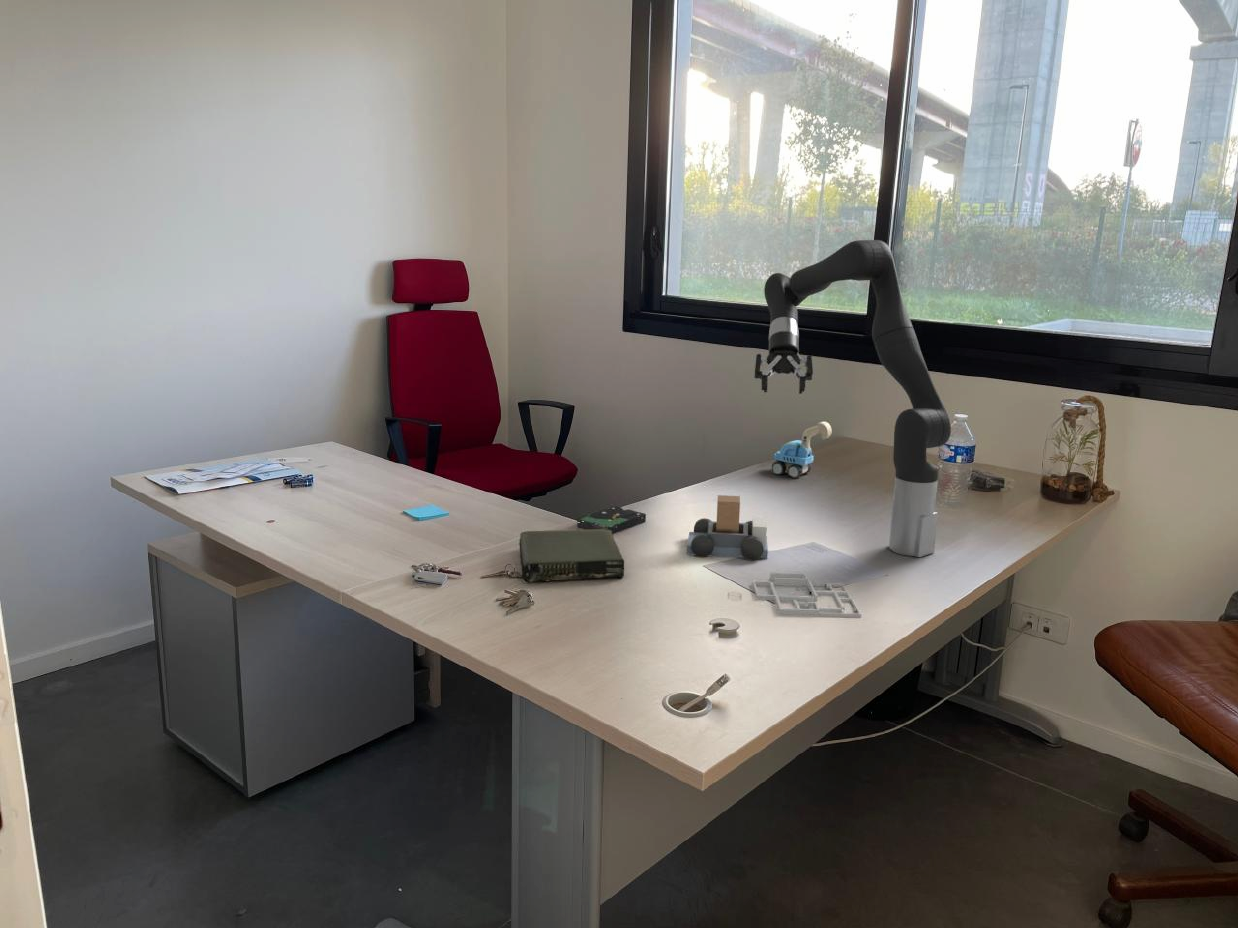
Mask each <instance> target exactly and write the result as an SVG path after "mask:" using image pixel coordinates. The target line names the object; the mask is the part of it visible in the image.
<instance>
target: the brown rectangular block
mask: <svg viewBox="0 0 1238 928" xmlns="http://www.w3.org/2000/svg"><path fill="white" fill-rule="evenodd" d="M716 502H717V503H716V504H717V505H716V522H717V525H716V532H717V533H735V534H738V533H739V523H740V512H741V511H740V509H741V508H740V507H741V497H740V495H726V494H725V495H722V494H718V495H717V501H716Z"/></svg>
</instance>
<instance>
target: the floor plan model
mask: <svg viewBox="0 0 1238 928" xmlns="http://www.w3.org/2000/svg"><path fill="white" fill-rule="evenodd" d="M773 582H774V583H773ZM751 583H752V584H751V585H752V588H753V590H754V595H755V597H756V600H761V601H774V603H775V606H776V608H777V611H778V614H779V615H780V616H810V617H811V616H812V617H813V616H818V617H836V618H837V617H839V618H841V617H843V618H844V617H845V618H848V617H849V618H862V613H861V611H860V608H859V607H858V605H857V603H856V601H855V600H854V598H853V597H851V596H850V593H849V592H848V590H847V588H846V587H845V584H844V583H841V582H837V583H835V582H829V583H828V582H812V580H811V579H809V578H808V577H807V574H806V573H796V572H795V573H794V572H793V573H792V572H787V573H786V572H769V580H757V579H756V580H755V579H754V580H752V582H751ZM757 586H758V587H769V588H770V590H772V591H771V594H760V593H759V591H758V587H757ZM775 586H798V587H796V589H795V590H797V591H798V592H799V591H800V589H801V590H802V591H805V589H804V587H805V586H807V590H808V592H809V596H807V595H806V596H805V595H804V596H803V595H802V596H801V595H799V596H798V595H790V594H794V592H792V591H790V594H789V595H778V594H777V591H776V589H775ZM799 586H801V588H800V587H799ZM803 586H804V587H803ZM815 587H826V589H827V590H823V589H820V590H815ZM833 587H834V588H836V587H837V588H838V587H841V588H842V589H843V590H841V591H840V590H834V588H833ZM772 593H773V594H772ZM811 595H812V596H811ZM818 596H833V597H834V599H835V600H836V603H837V604H838V606H839V607H819V605H818V603H817V602H818ZM840 596H847V597H840ZM782 603H793V606H794V608H785V607H784V608H783V607H782ZM844 603H850V605H851V607H852V608H853V613H852V612H849V613H848V612H845V610H846V607H845V605H844Z"/></svg>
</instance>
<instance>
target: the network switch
mask: <svg viewBox="0 0 1238 928" xmlns="http://www.w3.org/2000/svg"><path fill="white" fill-rule="evenodd" d="M518 545H519V555H520V556H519V557H520V569H521V577H522V580H523V582H524V581H525V582H530V581H534V582H538V581H544V580H548V581H550V580H552V581H561V580H562V581H567V580H570V581H572V579H573V580H577V579H578V580H579V581H582V580H585V579H598V578H609V579H610V578H619V579H620V578H621V579H623V578H624V576H625V560H624V558H623V555H622V554H621V551H620V549H619V547H618V545H617V542H616V539H615V537H614V534H612V531H610V530H605V529H593V530H585V529H563V530H562V529H559V530H558V529H557V530H556V529H554V530H526V531H522V532H521V533H520V536H519V543H518ZM581 579H582V580H581ZM525 582H524V583H525ZM530 583H531V582H530Z"/></svg>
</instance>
